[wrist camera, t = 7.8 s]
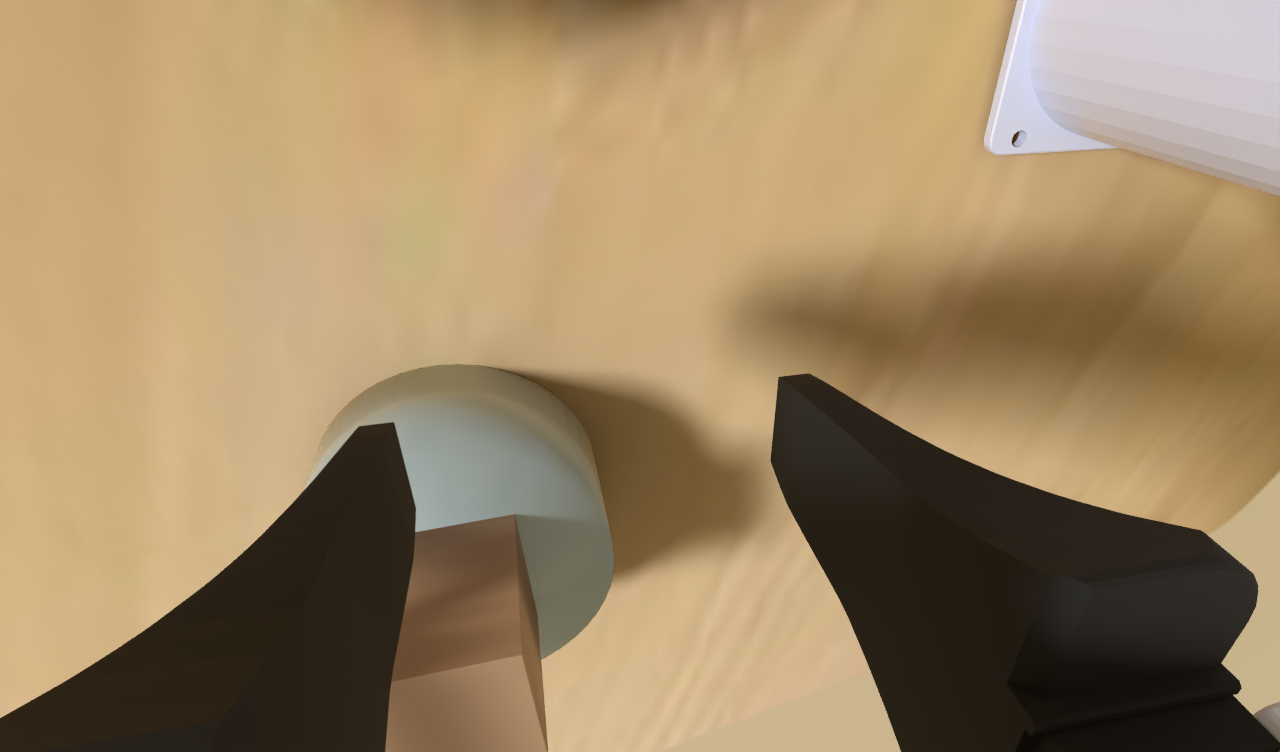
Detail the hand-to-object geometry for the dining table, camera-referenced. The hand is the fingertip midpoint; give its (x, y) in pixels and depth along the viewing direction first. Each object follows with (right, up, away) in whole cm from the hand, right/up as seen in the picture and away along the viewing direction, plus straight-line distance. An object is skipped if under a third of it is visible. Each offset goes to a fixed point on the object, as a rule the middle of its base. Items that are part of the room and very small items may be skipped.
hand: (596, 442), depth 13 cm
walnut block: (-5, -5, +9) cm, 11 cm away
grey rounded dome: (-6, -3, +13) cm, 14 cm away
